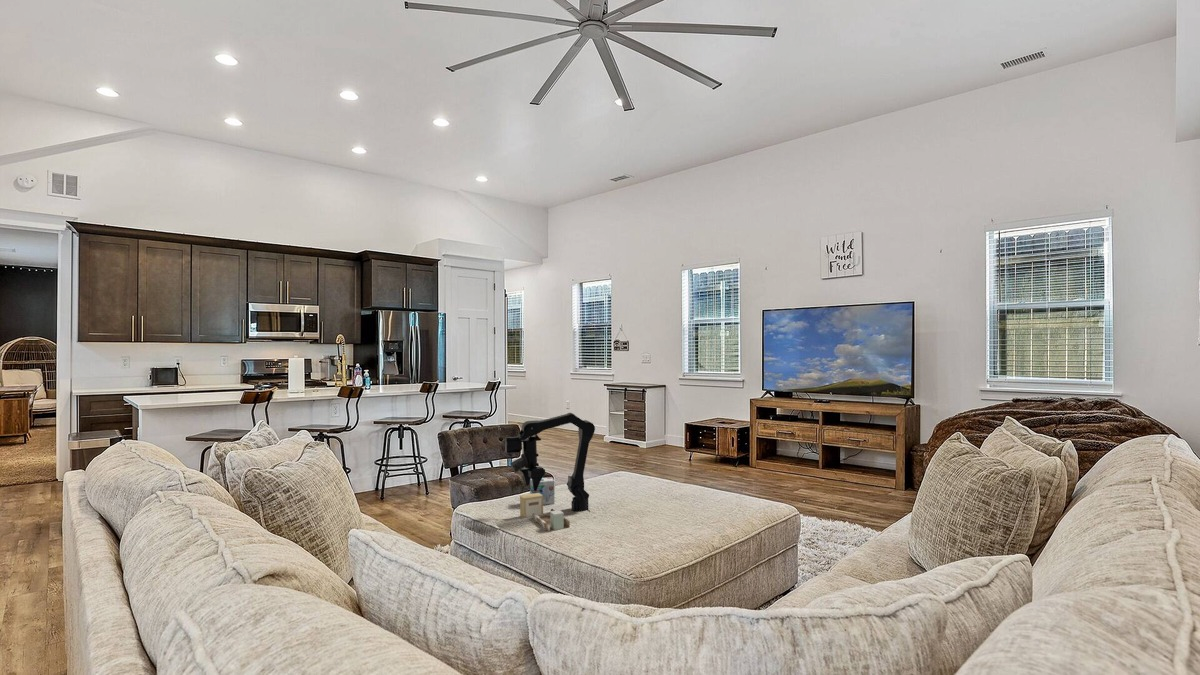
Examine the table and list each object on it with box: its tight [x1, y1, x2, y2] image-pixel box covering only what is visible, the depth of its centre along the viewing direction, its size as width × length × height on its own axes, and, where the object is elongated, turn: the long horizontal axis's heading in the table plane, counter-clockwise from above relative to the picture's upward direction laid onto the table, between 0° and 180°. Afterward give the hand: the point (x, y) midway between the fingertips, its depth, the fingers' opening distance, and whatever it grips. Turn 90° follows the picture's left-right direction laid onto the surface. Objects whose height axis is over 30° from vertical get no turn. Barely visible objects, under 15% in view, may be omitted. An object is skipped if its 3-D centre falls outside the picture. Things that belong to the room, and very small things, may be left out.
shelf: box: [531, 508, 571, 532], centre depth 241 cm, size 18×9×4 cm, turn 26°
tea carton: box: [519, 493, 544, 518], centre depth 252 cm, size 8×5×9 cm, turn 116°
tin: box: [549, 509, 565, 531], centre depth 235 cm, size 4×4×6 cm
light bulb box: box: [529, 476, 556, 506], centre depth 271 cm, size 11×7×11 cm, turn 105°
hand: (531, 488), depth 252 cm, fingers open, 9 cm apart
